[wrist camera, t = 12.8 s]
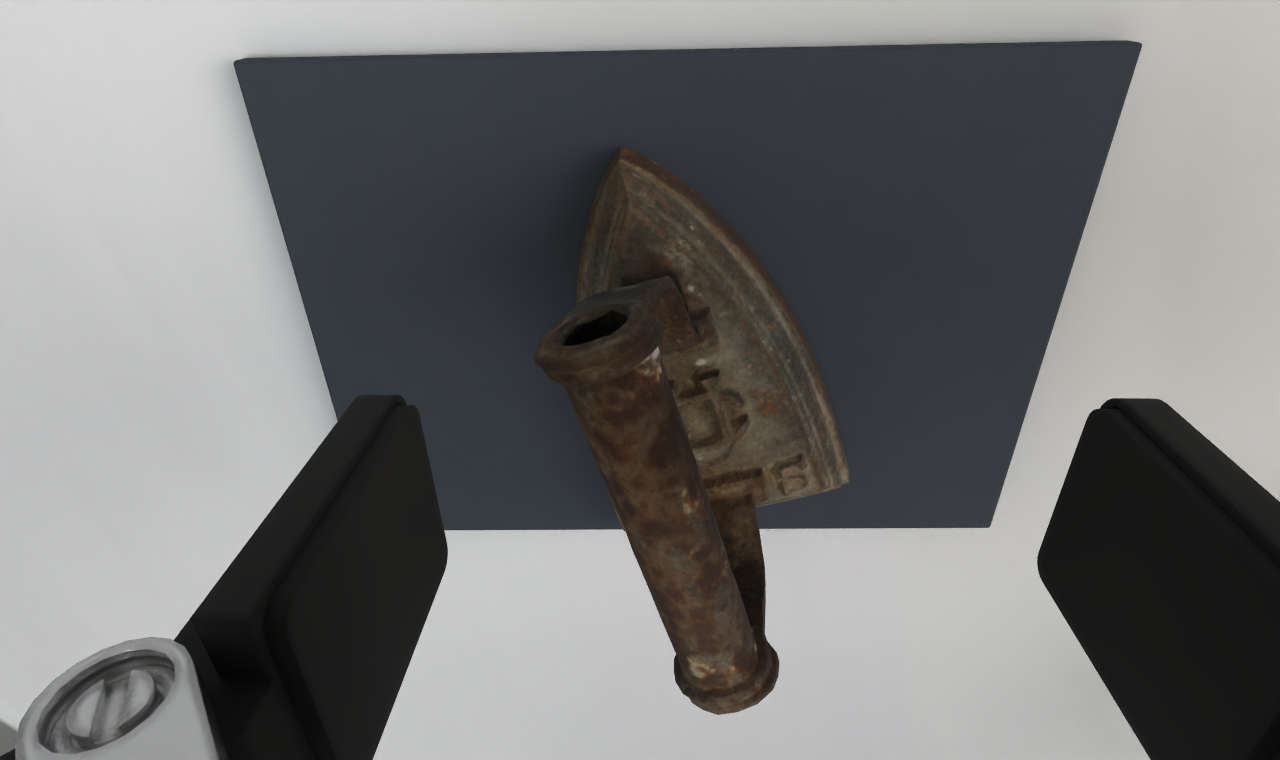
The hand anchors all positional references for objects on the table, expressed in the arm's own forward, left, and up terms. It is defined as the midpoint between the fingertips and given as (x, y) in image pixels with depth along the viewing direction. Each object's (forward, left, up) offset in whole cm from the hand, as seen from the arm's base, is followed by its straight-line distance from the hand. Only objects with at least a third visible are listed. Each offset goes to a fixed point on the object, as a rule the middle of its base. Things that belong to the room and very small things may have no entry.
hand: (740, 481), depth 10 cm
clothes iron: (0, +2, -9) cm, 9 cm away
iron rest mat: (+1, +2, -10) cm, 10 cm away
